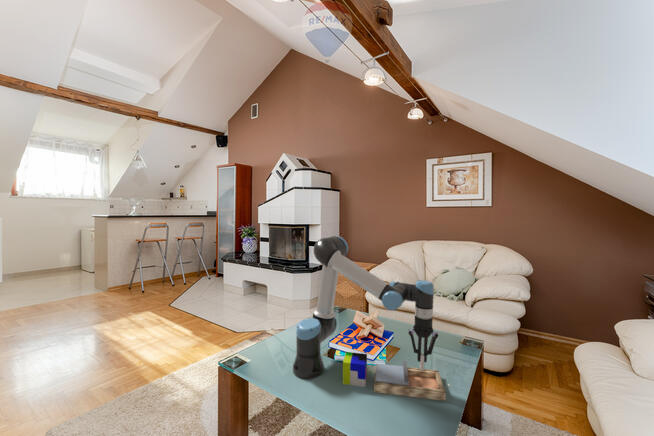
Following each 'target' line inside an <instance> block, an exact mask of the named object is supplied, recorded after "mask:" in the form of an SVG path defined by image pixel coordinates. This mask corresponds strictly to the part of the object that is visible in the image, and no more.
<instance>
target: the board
mask: <svg viewBox="0 0 654 436" xmlns="http://www.w3.org/2000/svg"><path fill="white" fill-rule="evenodd" d="M377 364H378V363H375V366H374V367H375V368H374V369H375V370H374V381H373V382H374V383H373V392H374V393H381V394H388V395H396V396H404V397H412V398H420V399H426V400H427V399H428V400H436V401H442V402H444V401H446V397H447V395H446V390H445V388H444V385H443V381H442V378H441V374H440V372H439V370H437V369H427V368H424V370H420V367H419V368H418V367H409V366H407V370H408V381H409V386H408V385H399V384H391V383H382V382H376V366H377Z"/></svg>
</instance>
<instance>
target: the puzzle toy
mask: <svg viewBox="0 0 654 436" xmlns="http://www.w3.org/2000/svg"><path fill="white" fill-rule="evenodd" d="M367 370H368V354H367V353H362V352H360V353H359V352H352V351H351V352H350V351H345V354H344V358H343V360H342V385H349V386H355V387H366V385H367V384H366V382H367V373H368V371H367Z"/></svg>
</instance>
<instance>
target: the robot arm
mask: <svg viewBox="0 0 654 436" xmlns="http://www.w3.org/2000/svg"><path fill="white" fill-rule="evenodd" d="M348 252H349V245H348V243H347V241H346V240H345V239H344V238H343V237H341V236H338V235H331V236H330V237H323V238H320V239H318V240H317V241H316V242H315V244H314V246H313V255H314V257H315V259H316V260H317V262H319V264H321V265H322V269H321V274H320V275H321V276H320V283H319V291H318V297H317V305H316V308H315V309H314V310H313V313H312V317H308V318H306V319H301V321H299V322H298V323H297V326H296V331H295V334H296V335H295V336H296V355H295V358H294V360H293V363H292V364H293V365H292V373H293V374H294V375H295V376H296V377H298V378H301V379H314V378H317V377H320V376H322V374H323V373H324V372H325V363H324V361H323V358H322V353H321V345H322V343H323V342H324V341H325V340H327V339H328V338H329V337H331V336H332V335H333V334H334V333H335V331H336V330H337V326H338V320H337V318H336V312H335V311H334V305H335V298H336V293H337V287H338V286H337V285H338V278H339V274H340V275H342V276H343V277H345V278H346V279H348V280H350V282H352V283H354V284H355V285H357V286H359V287H360V288H361V289H363V290H364V291H366V292H367V293H369V294H371V295H372V296H373V297H375V298H376V299H378V300H380V301H381V303H382V305H383V307H384V308H385V309H386V310H389V311H396V310H397V309H399V308H401V307H402V305H403V304H404V302H406V301H408V302H413V303H414V304H415V305H414V325H413V327H412V328H411V329H408V331H407V332H408V335H409V336H410V339H411V344H412V349H413V350H412V351H413V353H414V354H417V358H416V359H417V362H419V368H420V370H424V369H425V363H427V362H428V361H427V359H428V356H430V355H432V353H433V350H434V346H435V344H436V343H435V342H436V339H438V338H439V333H438V332H437V331H435V330H434V328H433V320H434V319H433V315H434V313H433V312H434V296H435V295H434V294H435V291H434V283H433V282H432V281H429V280H425V279H424V280H420V279H419V280H416V282H415V284H414V283H413V284H411V283H408V282H406V283H405V282H400V281H391V282H389V283H387V282H385V280H383V279H381V278H379V277H378V276H376V275H375V274H373V273H371V272H370V271H368V270H367V269H365V268H363V267H362V266H360V265H359V264H357V263H355V261H353V260H351V259H350V258H348V257H346V256H347V255H348ZM414 332H415V333H414ZM414 335H417V347H416V341H415V338H414ZM430 336H431V339H430V342H429V345H428V340H429V338H430ZM422 338H423V352H422Z"/></svg>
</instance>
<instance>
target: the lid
mask: <svg viewBox="0 0 654 436" xmlns="http://www.w3.org/2000/svg"><path fill="white" fill-rule="evenodd" d="M376 364H377V366H376V365H375V366H376V382H382V383H391V384H399V385H408V386H409V381H408V370H407V367H408V363H407V361H406V360H405V361H402V365H392V364H383V363H376Z"/></svg>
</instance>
